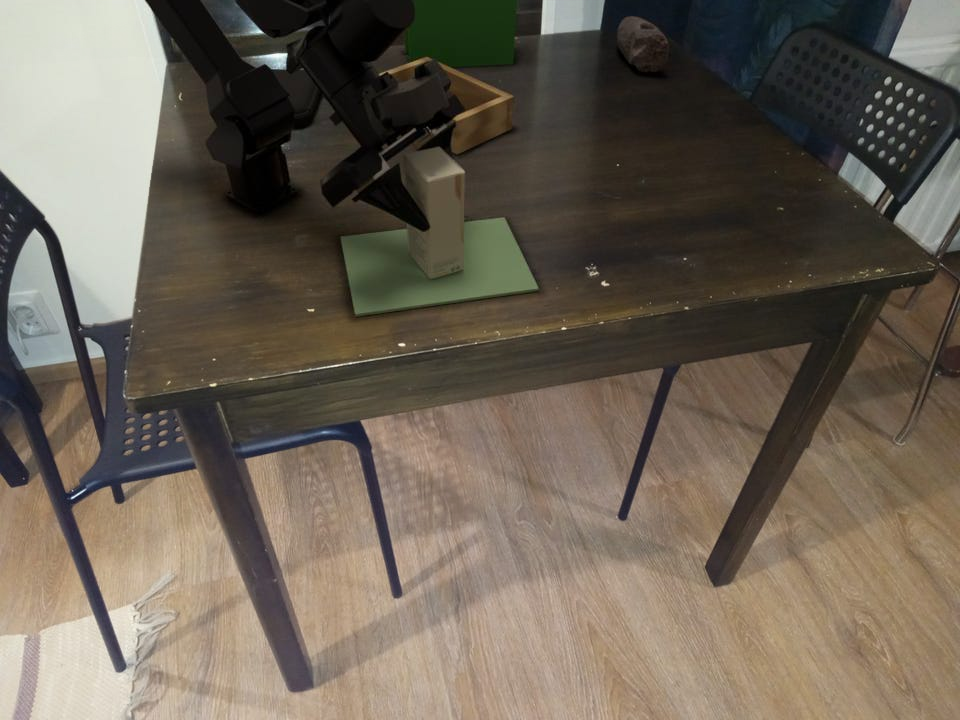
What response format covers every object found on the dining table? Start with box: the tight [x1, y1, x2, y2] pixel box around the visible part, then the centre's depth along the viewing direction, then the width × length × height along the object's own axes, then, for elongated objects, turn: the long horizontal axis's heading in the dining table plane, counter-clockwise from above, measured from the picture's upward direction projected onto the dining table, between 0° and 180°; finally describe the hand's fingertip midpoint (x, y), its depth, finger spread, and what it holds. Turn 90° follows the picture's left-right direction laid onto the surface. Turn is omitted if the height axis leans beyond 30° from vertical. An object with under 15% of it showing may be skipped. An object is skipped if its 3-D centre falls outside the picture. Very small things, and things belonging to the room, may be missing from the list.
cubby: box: [378, 57, 515, 155], centre depth 102 cm, size 11×18×5 cm, turn 45°
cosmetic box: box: [402, 147, 466, 279], centre depth 74 cm, size 6×4×12 cm
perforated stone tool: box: [616, 15, 670, 73], centre depth 118 cm, size 15×5×7 cm, turn 12°
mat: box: [340, 216, 540, 318], centre depth 79 cm, size 20×14×1 cm
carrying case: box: [271, 68, 321, 126], centre depth 104 cm, size 11×3×15 cm
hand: (444, 214), depth 74 cm, fingers closed on cosmetic box, 6 cm apart
